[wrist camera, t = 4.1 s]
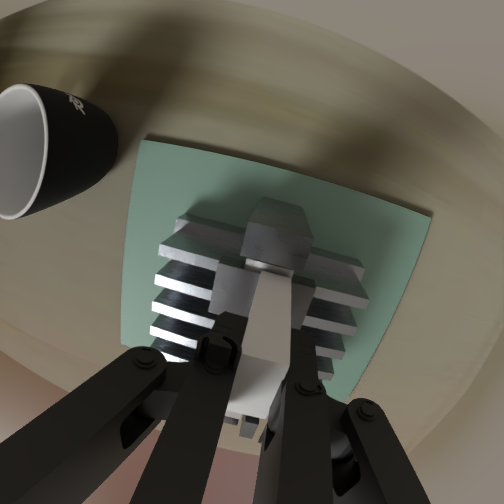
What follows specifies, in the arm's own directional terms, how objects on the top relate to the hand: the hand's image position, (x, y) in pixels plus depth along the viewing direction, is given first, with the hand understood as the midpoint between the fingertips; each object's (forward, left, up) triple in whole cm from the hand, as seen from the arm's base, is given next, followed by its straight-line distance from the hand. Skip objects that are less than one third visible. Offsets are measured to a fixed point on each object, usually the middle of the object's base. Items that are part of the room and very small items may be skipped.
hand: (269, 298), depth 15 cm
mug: (-19, +5, -9) cm, 22 cm away
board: (0, -4, -9) cm, 10 cm away
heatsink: (0, -5, -8) cm, 10 cm away
